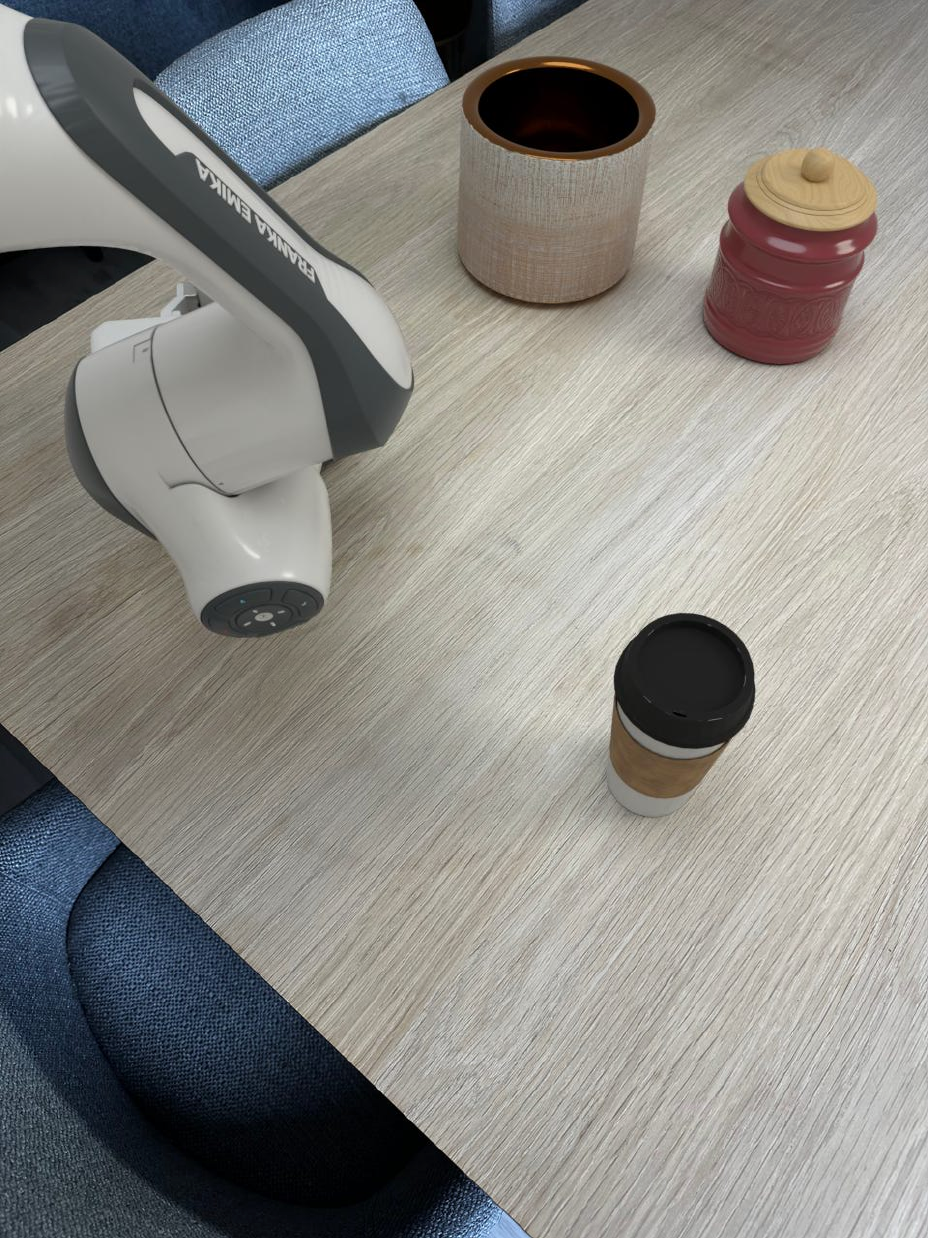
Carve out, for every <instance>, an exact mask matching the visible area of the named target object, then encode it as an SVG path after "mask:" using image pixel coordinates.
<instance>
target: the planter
mask: <svg viewBox="0 0 928 1238" xmlns="http://www.w3.org/2000/svg"><path fill="white" fill-rule="evenodd" d="M460 108H461V112H460V143H459V144H460V145H459V170H458V171H459V173H458V175H459V176H458V193H457V194H458V196H457V197H458V198H457V220H456V222H457V223H456V224H457V225H456V243H457V251H458V254H459V255H458V256H459V258H460V260H461V262H462V264H463V266H464V268H466V270H467V271H468V272H469V273H470V275H471V276H472V277H473V278H474V279H476V280H477V281H478V282H480V283H481V284H482V285H484V286H486V287H487V288H488V289H490V290H492V291H494V292H496V293H498V294H500V295H503V296H506V297H509V298H511V299H515V300H518V301H523V302H526V303H527V302H528V303H535V304H545V305H554V304H567V303H574V302H579V301H583V300H586V299H589V298H592V297H594V296H597V295H600V294H602V293H603V292H605V291H607V290H608V289H610V288H612V287H613V286H615V284H617V283H618V282H619V281H620V280H621V279H622V278H623V277H624V276H625V274H626V272H628V269H629V267H630V265H631V262H632V259H633V255H634V251H635V246H636V240H637V234H638V229H639V222H640V215H641V209H642V204H643V197H644V191H645V186H646V185H645V184H646V181H647V180H646V178H647V173H648V167H649V162H650V161H649V160H650V156H651V150H652V144H653V138H654V133H655V128H656V121H657V109H656V104H655V101H654V99H653V97H652V95H651V94H650V93H649V91H648V90H647V89H646V88H645V87H644V86H643V85H642V84H641V82H639V81H637V79H635V78H633V77H632V76H631V75H629V74H627V73H625V72H624V71H622V70H619V69H617V68H615V67H613V66H610V65H607V64H605V63H602V62H599V61H596V60H591V59H586V58H582V57H575V56H566V55H534V56H533V55H532V56H525V57H520V58H514V59H511V60H507V61H504V62H501V63H498V64H495V65H493V66H491V67H489V68H487V69H486V70H484V71H481V72H480V73H479V74H478V75H476V76H475V77H474V78H473V79H472V80H471V82H469V83H468V85H467V86H466V88H465V89H464V92H463V95H462V97H461V107H460Z"/></svg>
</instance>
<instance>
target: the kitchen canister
mask: <svg viewBox="0 0 928 1238" xmlns="http://www.w3.org/2000/svg"><path fill="white" fill-rule="evenodd" d="M877 205H878V192H877V189H876V187H875V185H874V184H873V182H872V181H871V179H870V178H869V177H868V176H867V175H866V174H865V173H863V171H861V170H860V169H859V168H858V167H857V166H856V165H855V164H854V163H853V162H852V161H850V160H848V159H847V158H845V157H843V156H841V155H838V154H836V153H834V152H832V151H831V150H830V149H829V148H826V147H823V146H820V147H819V146H818V147H813V148H809V147H807V148H805V147H803V148H801V147H800V148H793V149H792V148H790V149H787V150H783V151H780V152H776V153H772V154H769V155H766V156H764V157H761V158H759V159H757V161H754V163H752V164H751V165H749V168H748V169H747V171H746V172H745V175H744V178H743V181H741V182H740V183H739V184H737V186H735V188H734V189H733V190H732V192H730V195H729V197H728V200H727V214H728V219H727V220H726V221H725V222H724V224H723V226H721V227H722V228H721V230H720V232H719V238H718V239H719V240H718V242H719V244H718V247H717V251H716V255H715V259H714V262H713V267H712V271H711V274H710V278H709V280H708V281H707V284H706V286H705V291H704V294H703V300H702V305H703V309H702V310H703V311H702V316H703V321H704V324H705V327H706V328H707V331H708V332H709V333H710V335H711V336H712V337H713V339H714V340H716V341H717V342H718V344H720V345H721V346H723V347H724V348H726V349H727V350H729V351H730V352H732V353H734V354H736V355H738V356H740V357H743V358H746V359H749V360H752V361H756V362H759V363H764V364H765V363H766V364H775V365H783V364H784V365H785V364H787V365H788V364H794V363H801V362H805V361H807V360H810V359H812V358H814V357H815V356H817V355H820V354H821V353H822V352H823V351H824V350H825V349H826V348H827V347H828V346H829V344H830V343H831V341H832V340H833V339H834V337H835V336H836V335H837V333H838V331H839V329H840V325H841V324H842V321H843V317H844V311H845V309H846V305H847V303H848V300H849V299H850V296H851V294H852V290H853V288H854V285H855V283H856V280H857V278H858V276H859V275H860V273H861V272H862V270H863V268H864V265H865V260H866V258H865V257H866V256H865V255H866V254H865V253H866V252H865V250H866V249H867V248H868V247H869V246H870V245H871V244H872V243H873V241H874V240H875V238H876V237H877V234H878V231H879V230H878V229H879V221H878V217H877V214H876V209H877Z"/></svg>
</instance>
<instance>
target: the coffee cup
mask: <svg viewBox="0 0 928 1238" xmlns="http://www.w3.org/2000/svg"><path fill="white" fill-rule="evenodd" d="M755 677H756V674H755V667H754V661H753V659H752V656H751V653H750V651H749V649H748V648H747V646H746V644H745V642H744V641H743V640H742V639H741V637H739V635H738V634H737V633H736V632H735V631H734V630H732V629H731V628H730V627H729V626H727V625H726V624H724V623H722V622H720V621H719V620H717V619H715V618H712V617H710V616H708V615H707V616H706V615H704V614H699V613H695V612H694V613H693V612H676V613H670V614H666V615H664V616H661V617H657V618H655V619H654V620H651V622H648V624H646V625H645V626H644V627H643V628H642V629H641V630H640V631H639V632H638V633H637V634H636V636H634V637H633V638H632V639H631V640H630V641H629V642H628V643H627V645H625V647H624V649H623V650H622V652H621V654H620V655H619V658H618V659H617V662H616V664H615V667H614V672H613V690H614V693H613V694H614V695H613V703H612V713H611V724H610V725H611V726H610V735H609V746H608V749H609V752H608V758H607V764H606V781H607V785H608V788H609V790H610V793H611V794H612V796H613V797H614V799H615V800H616V802H618V803H619V804H620V805H621V806H622V807H624V808H625V809H627V810H628V811H630V812H632V813H634V814H636V815H639V816H643V817H647V818H648V817H649V818H659V817H666V816H668V815H671V814H673V813H675V812H676V811H678V810H679V809H680V808H681V807H682V806H683V805H685V804H686V802H687V800H688V799H689V797H690V796H691V795H692V794H693V792H694V790H695V789H696V787H697V786H698V785H699V784H700V783H701V781H702V780H703V778H704V777H705V776H706V774H707V773H708V772H709V771H710V769H711V768H712V767H713V765H714V764H715V762H716V761H717V760H718V758H719V757H721V754H723V752H724V751H725V750H726V748H727V746H728V745H729V744H730V742H731V741H732V740H733V738H734V737H736V736H737V735H738V734H739V733H740V732H741V731H742V730H743V729H744V728H745V726H746V724H747V723H748V722H749V720H750V719H751V716H752V713H753V710H754V707H755V703H756V689H757V688H756V682H755Z"/></svg>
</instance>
